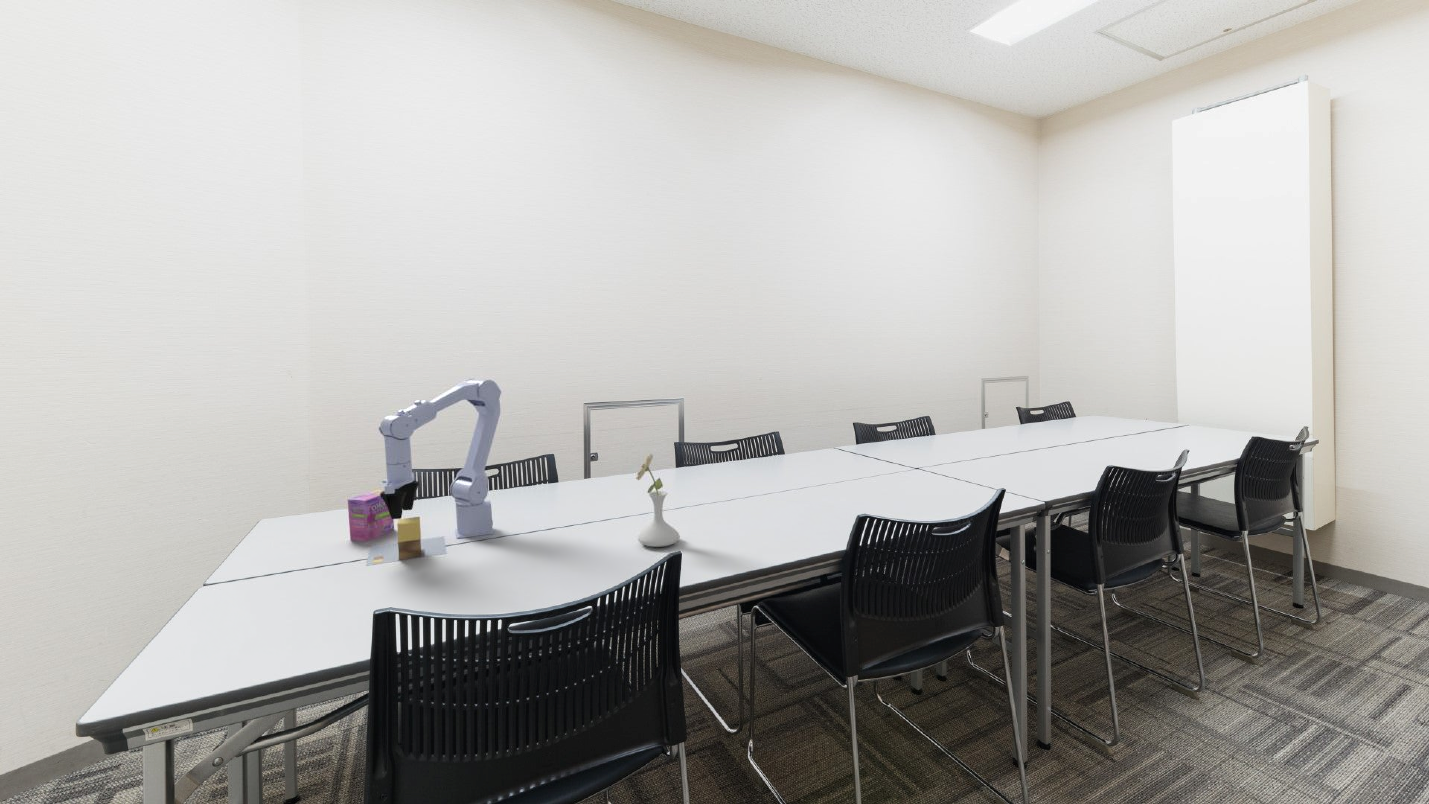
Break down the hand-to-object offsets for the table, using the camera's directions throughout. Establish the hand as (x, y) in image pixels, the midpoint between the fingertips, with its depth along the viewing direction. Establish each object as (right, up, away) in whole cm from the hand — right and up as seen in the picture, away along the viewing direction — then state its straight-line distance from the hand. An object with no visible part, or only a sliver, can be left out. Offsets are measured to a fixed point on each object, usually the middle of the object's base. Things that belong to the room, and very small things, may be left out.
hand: (402, 514), depth 152 cm
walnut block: (+2, -10, -1) cm, 11 cm away
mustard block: (+3, -6, -1) cm, 6 cm away
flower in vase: (+65, -10, +7) cm, 66 cm away
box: (-16, -9, +15) cm, 24 cm away
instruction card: (0, -10, +3) cm, 11 cm away
